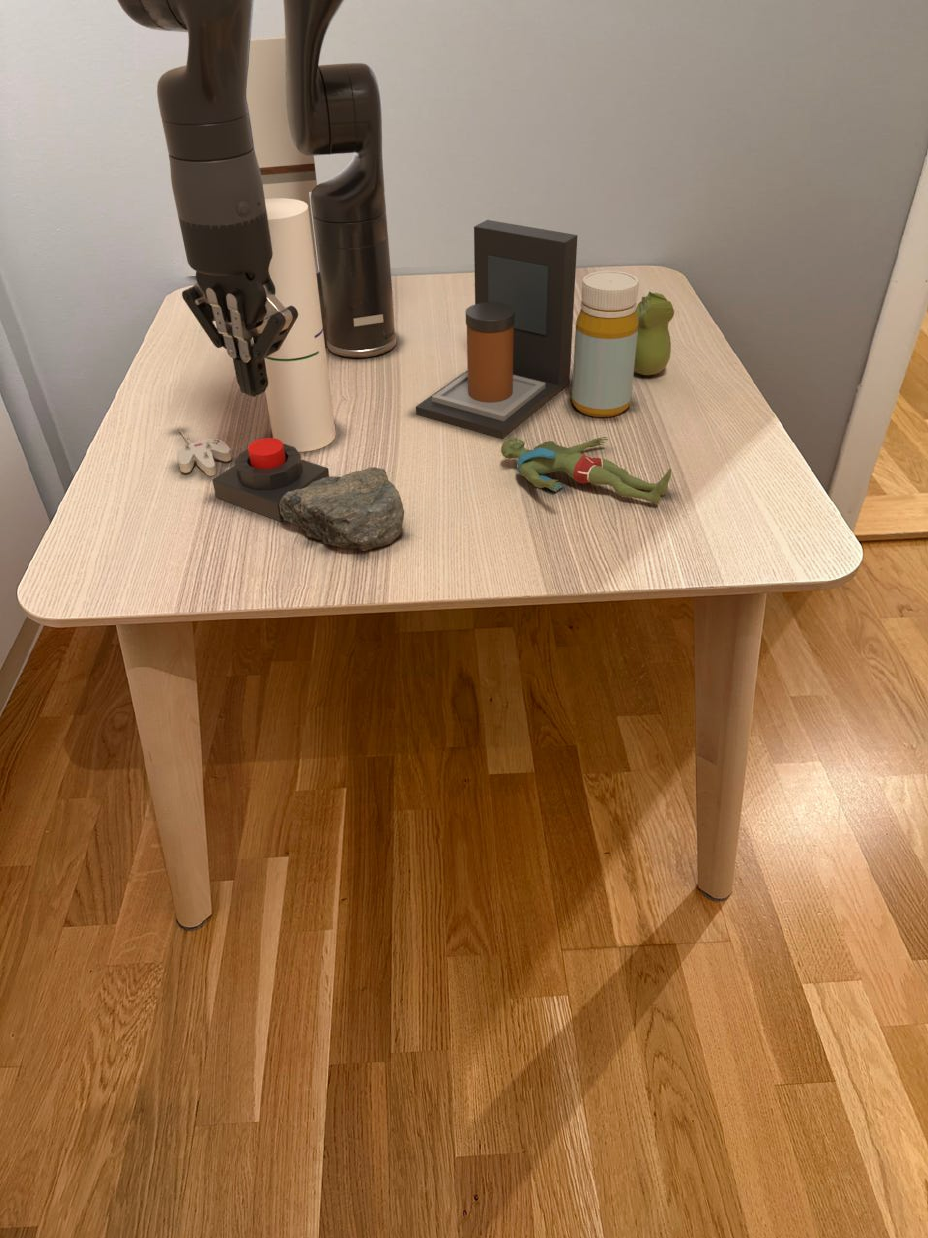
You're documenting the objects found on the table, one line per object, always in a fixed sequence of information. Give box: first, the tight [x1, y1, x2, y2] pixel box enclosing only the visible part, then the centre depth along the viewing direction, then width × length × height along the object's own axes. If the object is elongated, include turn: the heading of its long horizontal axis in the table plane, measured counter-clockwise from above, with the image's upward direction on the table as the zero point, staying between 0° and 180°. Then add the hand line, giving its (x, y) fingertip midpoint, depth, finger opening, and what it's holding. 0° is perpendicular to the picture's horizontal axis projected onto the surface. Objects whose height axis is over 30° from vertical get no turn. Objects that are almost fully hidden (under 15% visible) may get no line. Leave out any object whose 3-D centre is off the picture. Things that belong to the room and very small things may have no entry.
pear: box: [634, 291, 675, 376], centre depth 115 cm, size 6×5×10 cm
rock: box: [279, 466, 405, 552], centre depth 91 cm, size 12×10×5 cm
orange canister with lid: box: [465, 302, 515, 402], centre depth 110 cm, size 7×6×10 cm
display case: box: [246, 34, 319, 273], centre depth 126 cm, size 11×11×35 cm
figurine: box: [500, 436, 672, 506], centre depth 97 cm, size 16×4×18 cm
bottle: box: [571, 270, 640, 418], centre depth 107 cm, size 7×7×15 cm
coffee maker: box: [415, 219, 578, 440], centre depth 108 cm, size 16×12×18 cm
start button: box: [247, 437, 286, 469], centre depth 96 cm, size 4×4×2 cm
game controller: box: [176, 428, 232, 477], centre depth 104 cm, size 6×12×3 cm, turn 49°
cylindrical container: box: [264, 198, 336, 453], centre depth 100 cm, size 7×7×25 cm
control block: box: [211, 444, 330, 522], centre depth 97 cm, size 9×8×4 cm
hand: (254, 391), depth 92 cm, fingers closed
